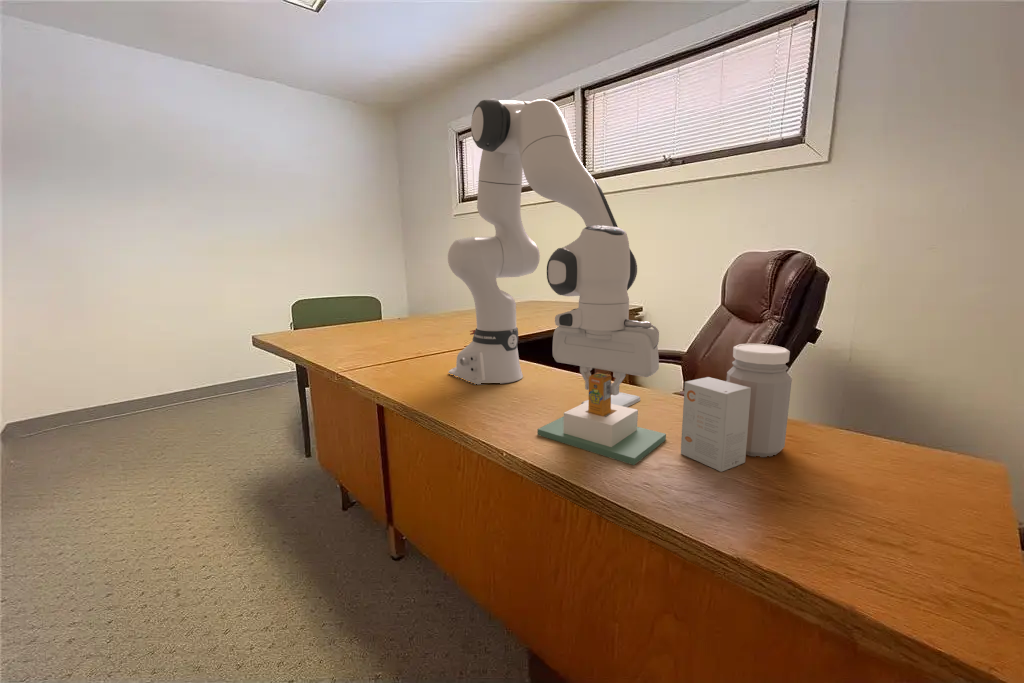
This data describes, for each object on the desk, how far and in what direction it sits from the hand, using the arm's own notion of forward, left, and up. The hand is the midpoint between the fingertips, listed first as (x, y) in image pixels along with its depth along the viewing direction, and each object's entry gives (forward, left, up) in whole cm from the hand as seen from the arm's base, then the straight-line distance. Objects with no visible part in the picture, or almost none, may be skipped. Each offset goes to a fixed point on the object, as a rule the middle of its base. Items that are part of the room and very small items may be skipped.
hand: (601, 391), depth 83 cm
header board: (0, 0, -9) cm, 9 cm away
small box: (+19, +4, -9) cm, 21 cm away
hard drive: (-8, +19, -10) cm, 23 cm away
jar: (+23, +13, -9) cm, 28 cm away
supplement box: (0, -1, -7) cm, 7 cm away
